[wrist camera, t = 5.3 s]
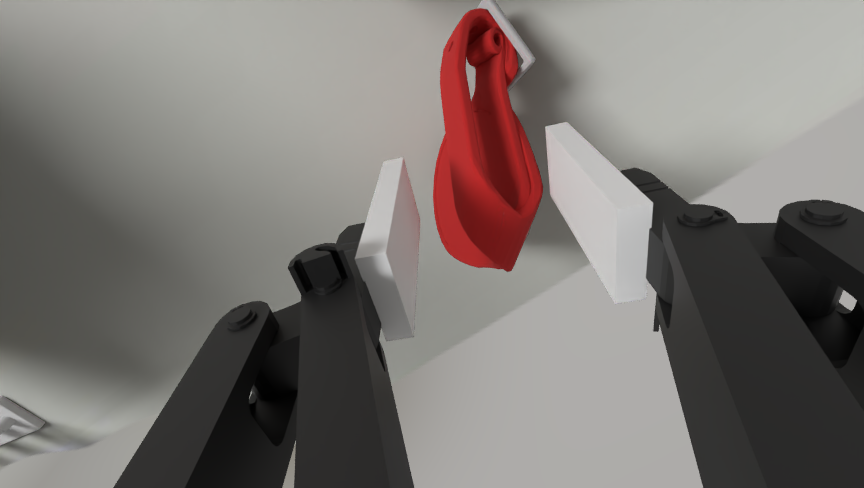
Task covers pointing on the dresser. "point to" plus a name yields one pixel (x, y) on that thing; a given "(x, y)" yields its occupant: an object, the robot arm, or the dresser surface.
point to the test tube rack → (16, 421)
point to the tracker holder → (484, 145)
